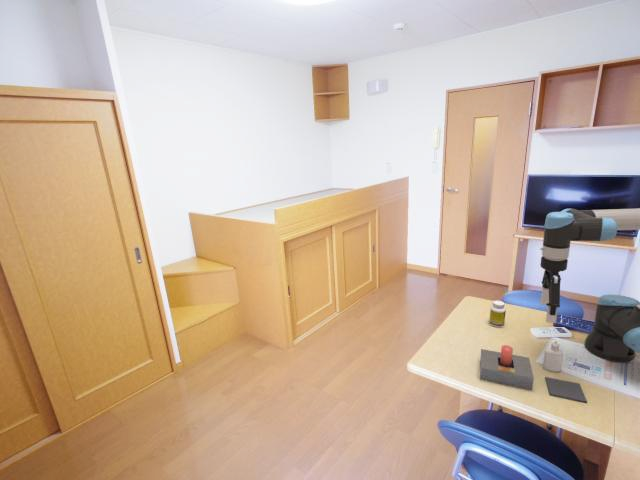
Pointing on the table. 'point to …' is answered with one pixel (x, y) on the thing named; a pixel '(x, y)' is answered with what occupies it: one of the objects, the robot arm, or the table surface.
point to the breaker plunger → (506, 356)
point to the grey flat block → (506, 370)
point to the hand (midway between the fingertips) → (547, 313)
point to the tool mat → (565, 389)
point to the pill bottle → (497, 314)
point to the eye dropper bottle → (553, 358)
